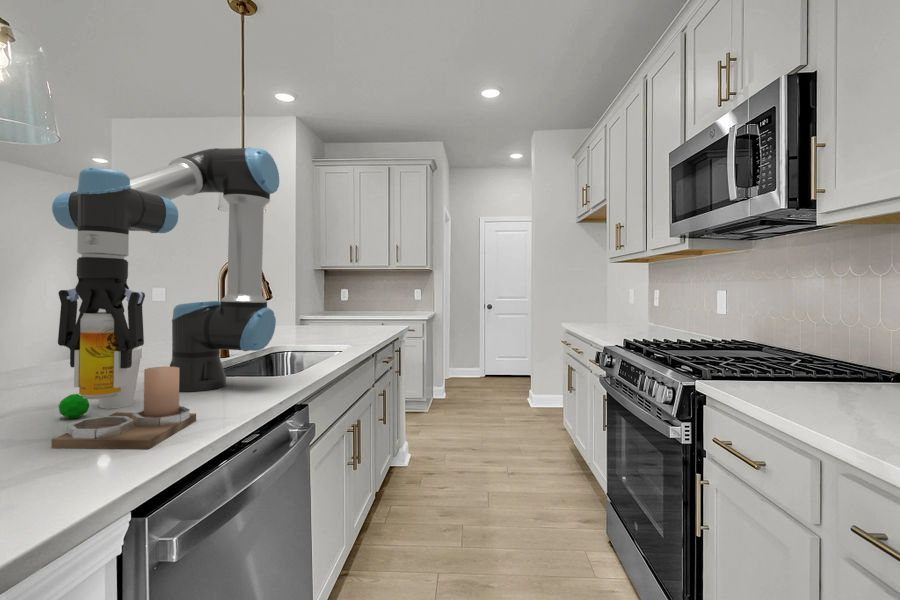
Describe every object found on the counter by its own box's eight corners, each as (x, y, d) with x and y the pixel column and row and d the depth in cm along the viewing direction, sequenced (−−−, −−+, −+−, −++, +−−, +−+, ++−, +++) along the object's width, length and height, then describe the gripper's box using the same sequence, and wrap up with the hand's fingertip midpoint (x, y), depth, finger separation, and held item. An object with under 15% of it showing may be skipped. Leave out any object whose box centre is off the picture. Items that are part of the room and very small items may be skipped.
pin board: (116, 419, 102) (116, 412, 102) (196, 420, 103) (196, 413, 103) (51, 448, 84) (51, 439, 84) (148, 449, 85) (149, 440, 85)
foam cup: (142, 399, 120) (143, 345, 119) (138, 408, 112) (139, 350, 111) (95, 402, 116) (95, 346, 115) (87, 411, 107) (87, 352, 107)
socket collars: (117, 412, 102) (117, 405, 102) (195, 413, 103) (195, 406, 103) (55, 438, 84) (55, 429, 84) (150, 439, 85) (150, 431, 85)
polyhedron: (81, 420, 101) (82, 397, 101) (53, 421, 99) (53, 397, 99) (93, 414, 105) (93, 392, 105) (66, 415, 104) (66, 392, 104)
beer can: (99, 401, 85) (100, 314, 85) (70, 398, 87) (71, 312, 86) (128, 394, 91) (130, 312, 91) (101, 391, 92) (102, 311, 92)
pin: (153, 415, 101) (154, 366, 100) (184, 415, 101) (185, 366, 101) (137, 423, 95) (137, 371, 94) (169, 423, 95) (170, 371, 95)
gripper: (31, 253, 84) (28, 389, 85) (146, 257, 85) (143, 391, 86) (62, 256, 92) (60, 381, 92) (168, 260, 93) (166, 383, 93)
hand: (100, 385), depth 89 cm, fingers closed on beer can, 6 cm apart
